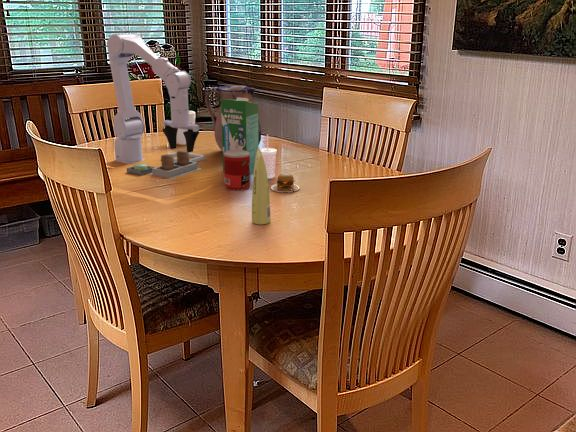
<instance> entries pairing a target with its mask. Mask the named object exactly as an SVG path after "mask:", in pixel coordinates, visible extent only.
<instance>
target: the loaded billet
mask: <svg viewBox="0 0 576 432" xmlns="http://www.w3.org/2000/svg"><path fill="white" fill-rule="evenodd" d="M174 158H175V157H174V156H173V155H171V153H168V154H166V153H165V154H161V155H160V161H161V163H160V164H161V166H162V170H166V171H169V170H173V169H174Z"/></svg>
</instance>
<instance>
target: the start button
mask: <svg viewBox="0 0 576 432" xmlns="http://www.w3.org/2000/svg"><path fill="white" fill-rule="evenodd" d="M133 166H134V169H136V170H140V171H141V170H144V169H147V168H148V166H149V165H148V164H147V163H134V164H133Z"/></svg>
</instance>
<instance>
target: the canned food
mask: <svg viewBox="0 0 576 432" xmlns="http://www.w3.org/2000/svg"><path fill="white" fill-rule="evenodd" d="M223 171H224V186H225V188H226V189H227V190H231V191H244V190H248V189H249V188H250V186H251V174H250V153H249V152H248V151H244V150H229V151H226V152H224V170H223Z"/></svg>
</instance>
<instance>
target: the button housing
mask: <svg viewBox="0 0 576 432" xmlns="http://www.w3.org/2000/svg"><path fill="white" fill-rule="evenodd" d="M147 166H148V168H147V169H144V170H141V171H140V170H136V169H134V165H133V166H131V167H127V168H126V173H127V174H131V175H136V176H144V175H147V174H148V175H149V174H150V173H152V168H155V167H156V166H151V165H147Z"/></svg>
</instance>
